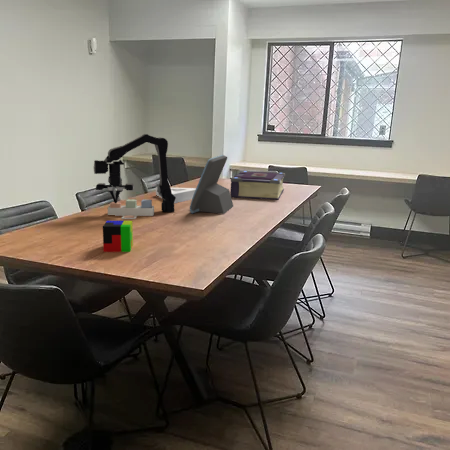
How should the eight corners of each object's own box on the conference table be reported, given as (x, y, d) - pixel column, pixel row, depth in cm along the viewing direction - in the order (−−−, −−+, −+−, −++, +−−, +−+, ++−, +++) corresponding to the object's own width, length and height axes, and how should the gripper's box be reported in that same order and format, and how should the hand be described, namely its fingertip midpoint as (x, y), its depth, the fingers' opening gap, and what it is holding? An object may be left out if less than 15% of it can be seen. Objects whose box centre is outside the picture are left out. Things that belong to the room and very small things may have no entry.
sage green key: (136, 208, 248) (136, 199, 247) (135, 210, 243) (135, 201, 242) (127, 208, 248) (126, 199, 247) (125, 210, 243) (125, 201, 242)
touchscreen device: (204, 202, 285) (206, 153, 278) (235, 205, 281) (238, 155, 274) (186, 213, 252) (188, 157, 245) (221, 217, 247) (224, 160, 240)
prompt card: (136, 216, 241) (136, 215, 241) (135, 219, 235) (135, 217, 235) (123, 216, 241) (123, 215, 240) (121, 218, 235) (121, 217, 235)
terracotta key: (121, 211, 248) (121, 202, 247) (120, 213, 243) (119, 204, 242) (111, 211, 248) (111, 202, 247) (110, 213, 243) (110, 203, 242)
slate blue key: (151, 208, 249) (151, 199, 248) (151, 210, 244) (150, 201, 243) (142, 208, 249) (142, 199, 247) (141, 210, 244) (141, 201, 243)
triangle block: (173, 204, 279) (173, 194, 278) (140, 199, 292) (140, 189, 291) (201, 198, 304) (202, 188, 303) (170, 193, 317) (170, 184, 316)
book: (228, 197, 306) (228, 176, 303) (239, 188, 349) (240, 169, 346) (279, 200, 300) (280, 178, 297) (284, 190, 343) (285, 171, 340)
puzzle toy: (107, 244, 188) (106, 220, 186) (132, 244, 189) (132, 220, 186) (103, 251, 178) (102, 226, 176) (130, 251, 179) (129, 226, 177)
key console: (154, 213, 251) (154, 205, 250) (153, 215, 244) (153, 208, 243) (110, 212, 249) (110, 205, 248) (107, 215, 242) (107, 207, 241)
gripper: (134, 171, 249) (135, 200, 253) (99, 171, 248) (100, 200, 251) (132, 174, 239) (133, 204, 242) (95, 173, 237) (96, 204, 241)
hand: (115, 203), depth 244 cm, fingers closed, pressing on terracotta key
